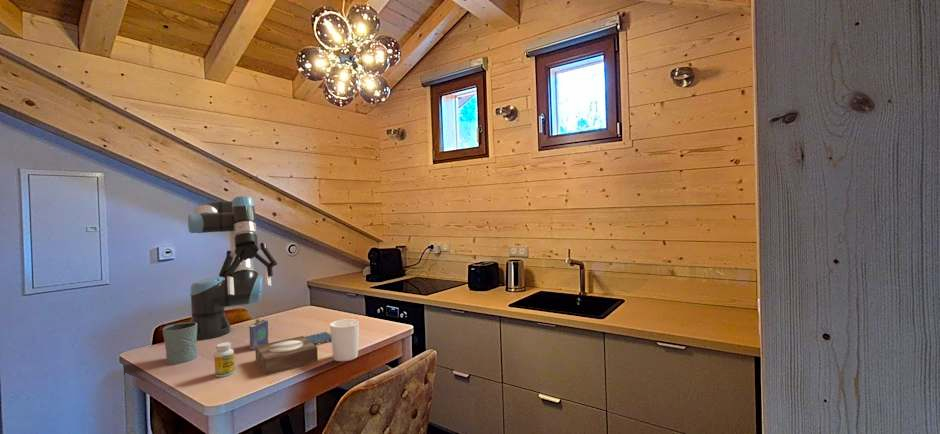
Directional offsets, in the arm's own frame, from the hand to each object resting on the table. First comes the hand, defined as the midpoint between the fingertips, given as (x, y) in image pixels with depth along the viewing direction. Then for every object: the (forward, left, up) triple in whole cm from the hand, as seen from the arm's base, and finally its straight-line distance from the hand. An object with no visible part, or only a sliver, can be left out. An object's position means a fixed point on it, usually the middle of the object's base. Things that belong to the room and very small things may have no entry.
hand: (250, 290), depth 150 cm
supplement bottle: (+16, -11, -23) cm, 30 cm away
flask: (-5, +3, -23) cm, 24 cm away
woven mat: (+4, +22, -23) cm, 33 cm away
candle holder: (+28, +24, -23) cm, 44 cm away
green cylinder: (-9, -21, -23) cm, 32 cm away
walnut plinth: (+18, +7, -23) cm, 30 cm away
